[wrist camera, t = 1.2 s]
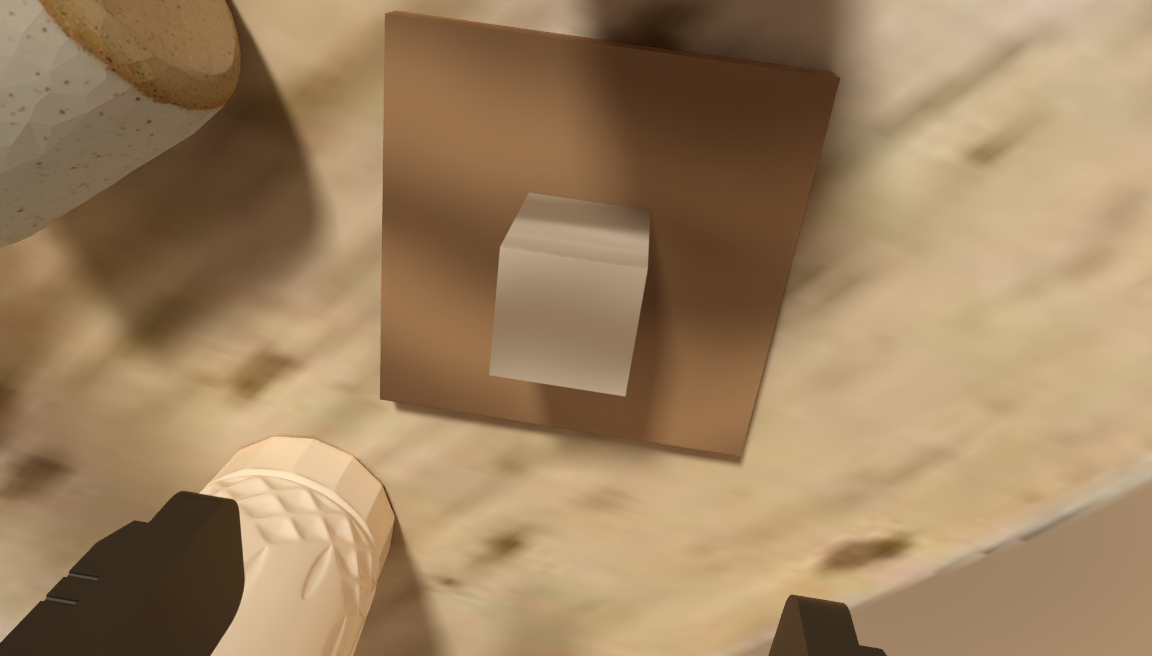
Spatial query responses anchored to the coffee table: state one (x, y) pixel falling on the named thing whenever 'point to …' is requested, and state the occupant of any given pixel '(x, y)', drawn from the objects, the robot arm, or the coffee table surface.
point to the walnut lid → (588, 227)
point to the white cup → (303, 547)
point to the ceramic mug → (101, 95)
